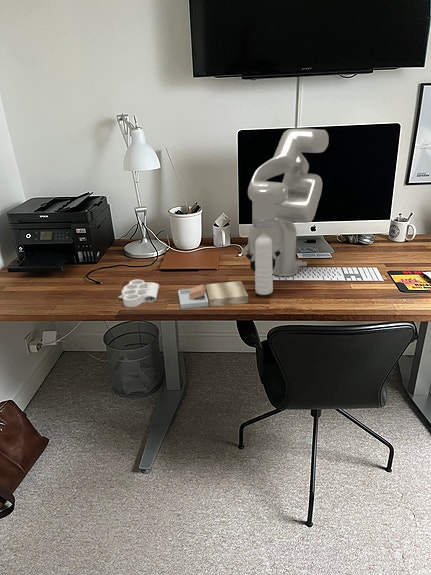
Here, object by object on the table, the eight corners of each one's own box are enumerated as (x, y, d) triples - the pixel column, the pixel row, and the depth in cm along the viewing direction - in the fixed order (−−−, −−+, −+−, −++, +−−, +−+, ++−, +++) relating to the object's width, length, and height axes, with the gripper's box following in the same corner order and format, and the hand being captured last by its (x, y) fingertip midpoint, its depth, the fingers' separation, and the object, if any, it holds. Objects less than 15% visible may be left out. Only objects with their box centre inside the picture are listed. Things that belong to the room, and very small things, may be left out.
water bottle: (275, 293, 166) (274, 229, 155) (258, 296, 165) (256, 231, 154) (268, 284, 174) (267, 222, 163) (251, 286, 173) (249, 224, 162)
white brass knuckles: (155, 307, 165) (115, 308, 165) (160, 285, 181) (124, 287, 181) (154, 298, 163) (114, 300, 163) (159, 278, 179) (122, 279, 179)
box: (204, 292, 173) (204, 287, 172) (208, 306, 162) (208, 301, 161) (178, 294, 172) (178, 290, 171) (180, 309, 161) (180, 304, 160)
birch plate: (241, 287, 175) (240, 280, 174) (248, 303, 163) (248, 295, 162) (205, 291, 174) (205, 284, 172) (210, 307, 162) (209, 299, 161)
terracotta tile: (205, 289, 170) (203, 284, 169) (203, 295, 165) (200, 290, 164) (193, 293, 171) (191, 288, 170) (191, 299, 167) (188, 294, 166)
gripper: (283, 217, 162) (282, 263, 170) (236, 221, 160) (237, 267, 168) (290, 223, 156) (288, 270, 163) (241, 227, 154) (241, 275, 161)
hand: (262, 268), depth 166 cm, fingers closed on water bottle, 6 cm apart
